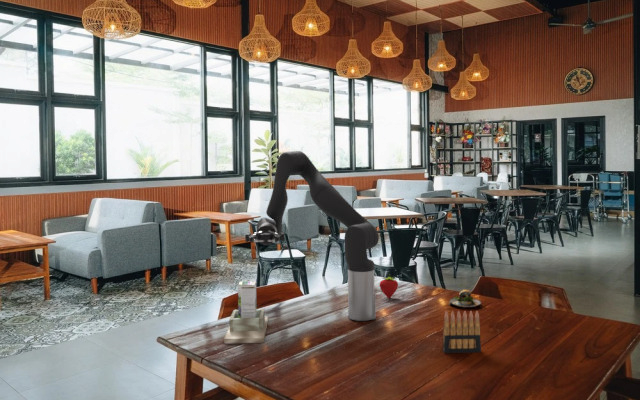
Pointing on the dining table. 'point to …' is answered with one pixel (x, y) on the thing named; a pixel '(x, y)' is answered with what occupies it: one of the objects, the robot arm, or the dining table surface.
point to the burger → (464, 300)
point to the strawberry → (388, 286)
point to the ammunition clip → (461, 334)
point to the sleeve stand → (246, 328)
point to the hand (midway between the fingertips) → (264, 239)
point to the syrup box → (247, 299)
